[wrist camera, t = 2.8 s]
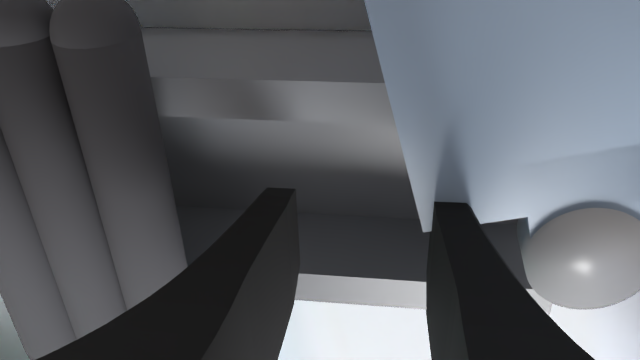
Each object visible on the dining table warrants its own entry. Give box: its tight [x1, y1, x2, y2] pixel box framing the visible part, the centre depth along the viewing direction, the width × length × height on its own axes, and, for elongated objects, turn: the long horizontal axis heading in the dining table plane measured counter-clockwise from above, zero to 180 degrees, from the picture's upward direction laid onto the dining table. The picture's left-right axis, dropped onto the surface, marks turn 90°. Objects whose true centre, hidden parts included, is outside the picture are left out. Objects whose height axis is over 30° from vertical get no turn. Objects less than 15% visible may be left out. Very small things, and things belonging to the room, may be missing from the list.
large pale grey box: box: [141, 28, 552, 316], centre depth 15 cm, size 16×6×3 cm, turn 92°
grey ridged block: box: [0, 0, 188, 360], centre depth 14 cm, size 5×10×2 cm, turn 2°
